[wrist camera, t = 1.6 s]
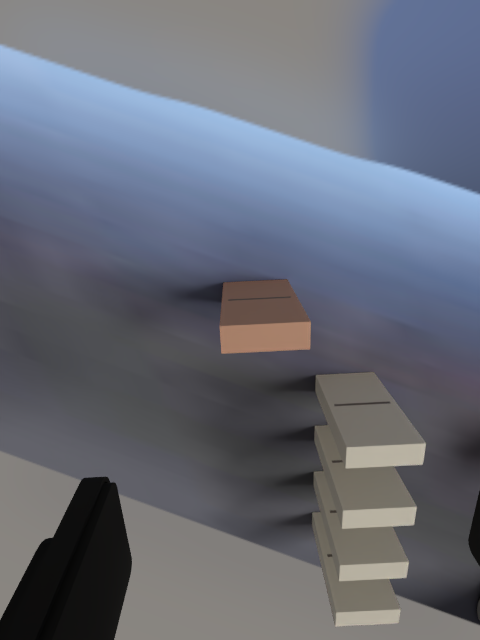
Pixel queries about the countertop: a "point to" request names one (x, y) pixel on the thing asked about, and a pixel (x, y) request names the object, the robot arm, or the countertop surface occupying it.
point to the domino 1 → (262, 318)
